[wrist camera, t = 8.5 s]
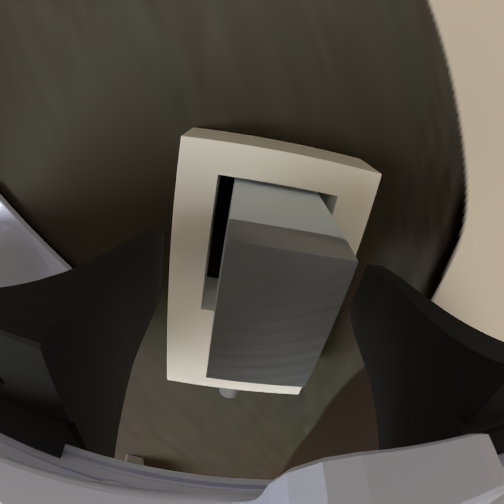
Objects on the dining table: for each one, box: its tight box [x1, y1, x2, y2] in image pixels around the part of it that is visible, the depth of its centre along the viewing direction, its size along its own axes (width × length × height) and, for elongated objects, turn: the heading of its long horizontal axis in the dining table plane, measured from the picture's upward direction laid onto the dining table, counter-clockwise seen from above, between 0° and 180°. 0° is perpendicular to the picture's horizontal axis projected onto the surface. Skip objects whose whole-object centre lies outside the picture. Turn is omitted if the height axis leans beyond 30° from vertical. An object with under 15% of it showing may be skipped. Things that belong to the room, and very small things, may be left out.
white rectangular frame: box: [167, 127, 382, 398], centre depth 14 cm, size 14×7×3 cm, turn 170°
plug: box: [206, 177, 359, 387], centre depth 11 cm, size 4×3×7 cm, turn 170°
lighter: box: [125, 454, 144, 465], centre depth 24 cm, size 7×2×8 cm, turn 167°
